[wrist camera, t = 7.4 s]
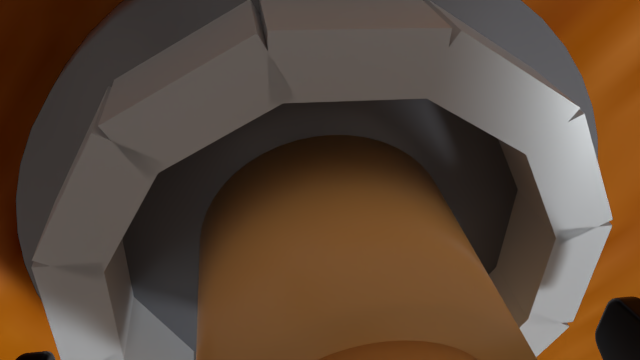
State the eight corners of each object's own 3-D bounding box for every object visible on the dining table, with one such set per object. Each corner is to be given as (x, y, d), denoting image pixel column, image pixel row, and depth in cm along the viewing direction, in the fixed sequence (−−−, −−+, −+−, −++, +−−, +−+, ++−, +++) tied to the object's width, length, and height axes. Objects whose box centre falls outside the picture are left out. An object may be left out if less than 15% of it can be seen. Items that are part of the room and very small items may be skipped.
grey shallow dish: (506, 359, 16) (551, 443, 14) (90, 404, 14) (70, 507, 12) (648, -67, 10) (765, -32, 8) (-53, -76, 8) (-145, -35, 6)
